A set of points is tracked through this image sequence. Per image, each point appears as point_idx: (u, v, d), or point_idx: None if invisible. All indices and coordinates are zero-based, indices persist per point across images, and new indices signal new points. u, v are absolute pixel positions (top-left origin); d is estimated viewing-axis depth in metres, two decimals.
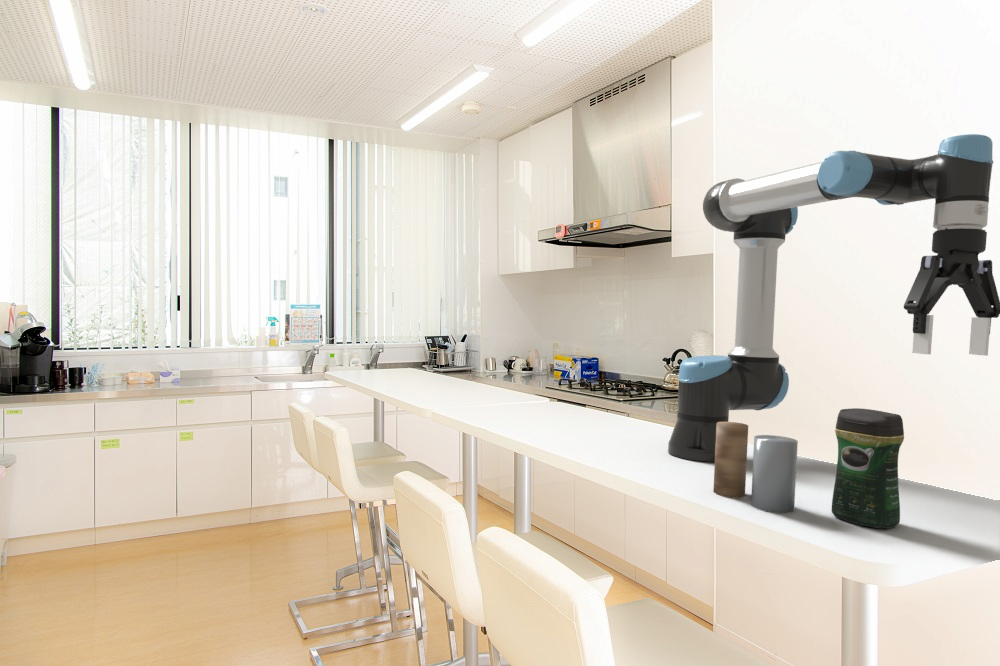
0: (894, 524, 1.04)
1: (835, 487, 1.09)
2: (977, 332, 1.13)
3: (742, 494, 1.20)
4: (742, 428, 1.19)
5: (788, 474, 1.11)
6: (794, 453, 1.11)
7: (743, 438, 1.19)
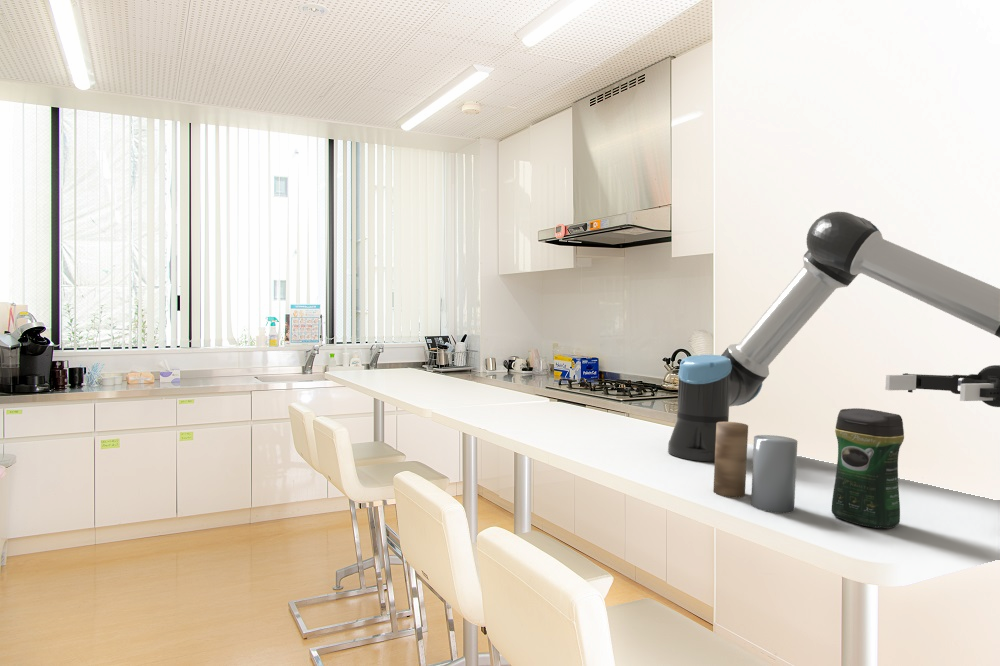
0: (894, 524, 1.04)
1: (835, 487, 1.09)
2: (905, 381, 1.18)
3: (742, 494, 1.20)
4: (742, 428, 1.19)
5: (788, 474, 1.11)
6: (794, 452, 1.11)
7: (743, 438, 1.19)
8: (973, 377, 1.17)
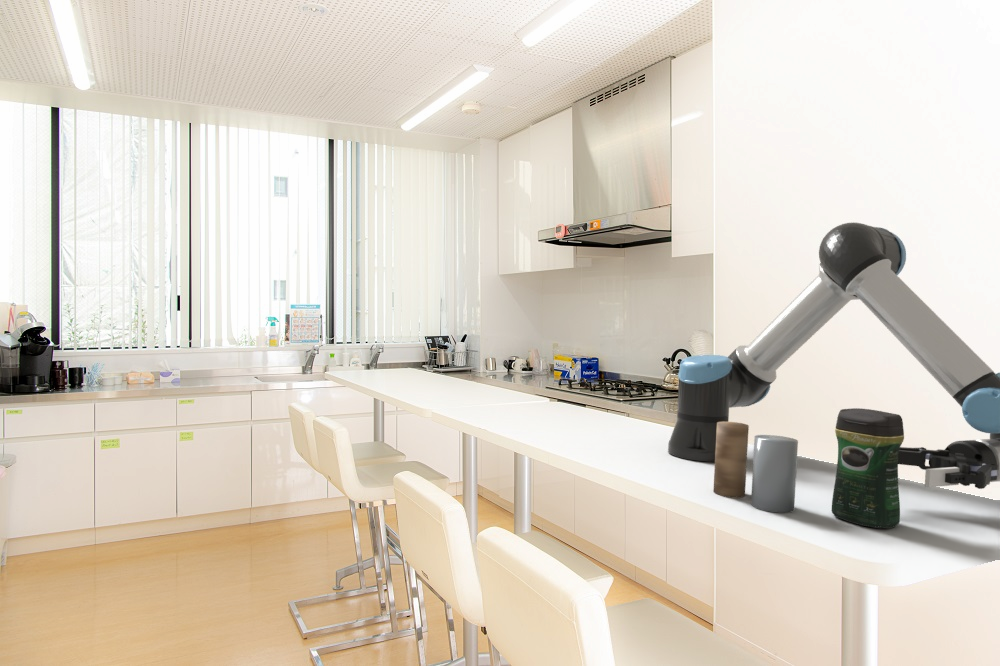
0: (894, 524, 1.04)
1: (835, 487, 1.09)
2: None
3: (742, 494, 1.20)
4: (742, 428, 1.19)
5: (788, 473, 1.11)
6: (795, 452, 1.11)
7: (744, 438, 1.19)
8: (941, 453, 1.14)
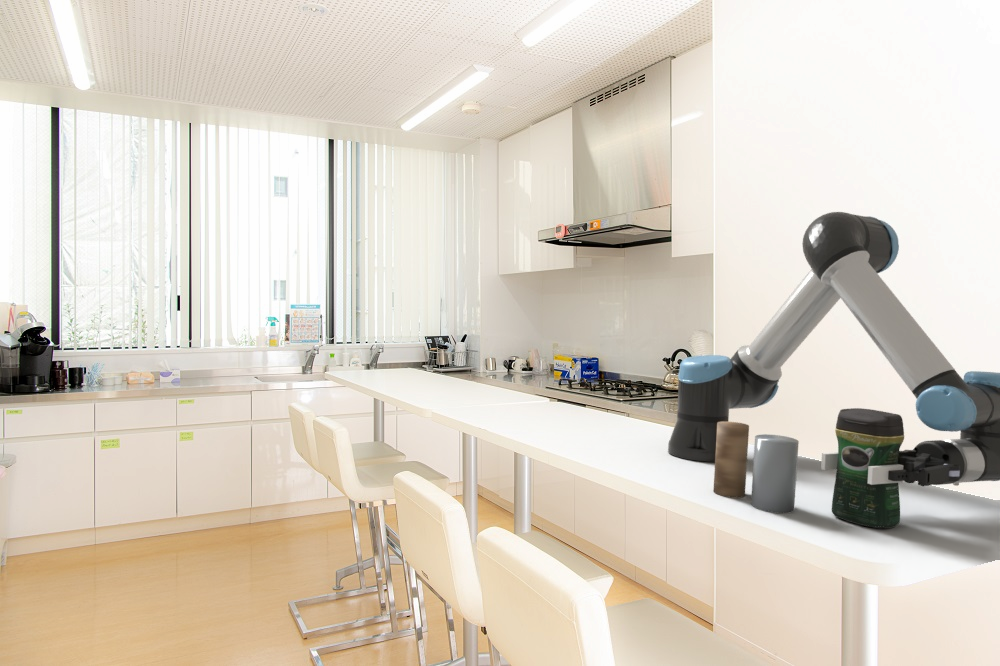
0: (894, 524, 1.04)
1: (835, 487, 1.09)
2: None
3: (742, 494, 1.20)
4: (743, 428, 1.19)
5: (789, 474, 1.11)
6: (795, 453, 1.11)
7: (744, 438, 1.19)
8: (909, 454, 1.12)
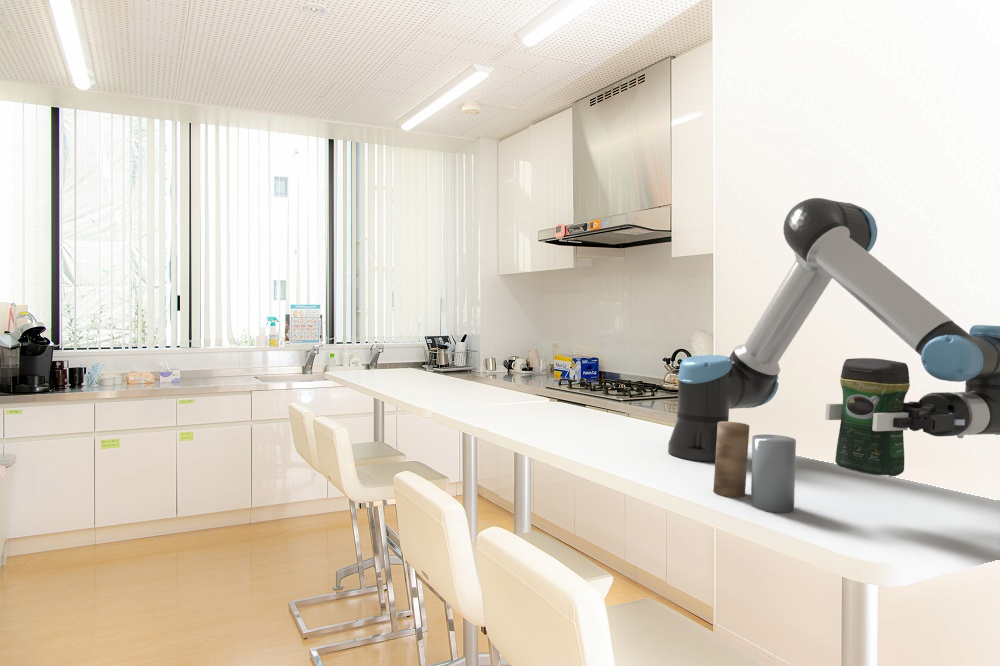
0: (898, 472, 1.03)
1: (839, 437, 1.09)
2: None
3: (742, 494, 1.20)
4: (743, 428, 1.19)
5: (788, 473, 1.11)
6: (793, 452, 1.11)
7: (744, 438, 1.19)
8: (914, 405, 1.12)
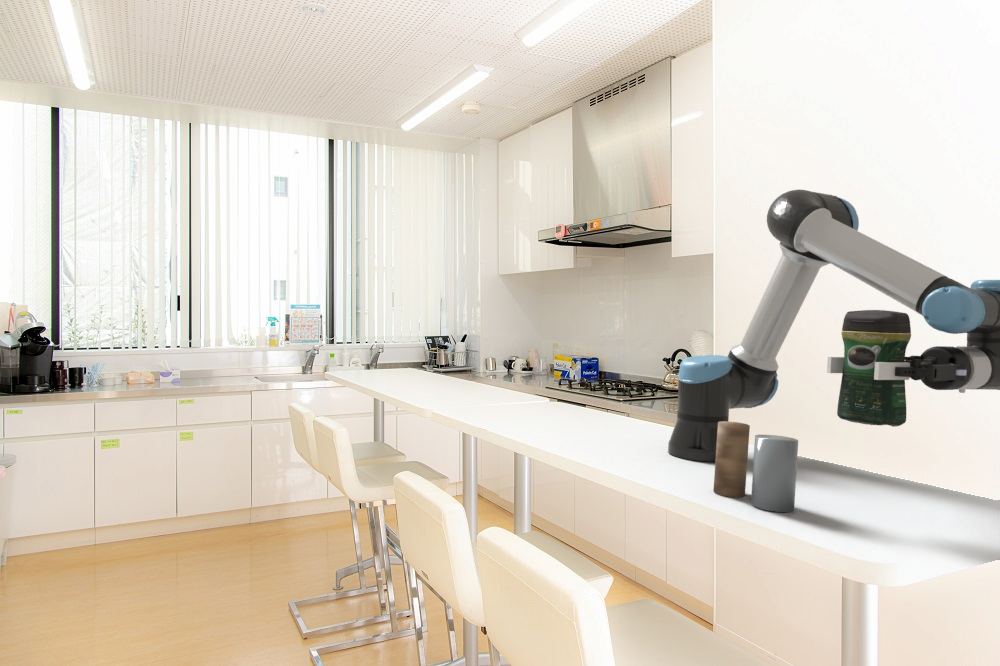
0: (900, 422, 1.03)
1: (841, 389, 1.08)
2: None
3: (742, 494, 1.20)
4: (744, 428, 1.19)
5: (790, 472, 1.11)
6: (796, 451, 1.12)
7: (745, 438, 1.19)
8: (915, 359, 1.11)
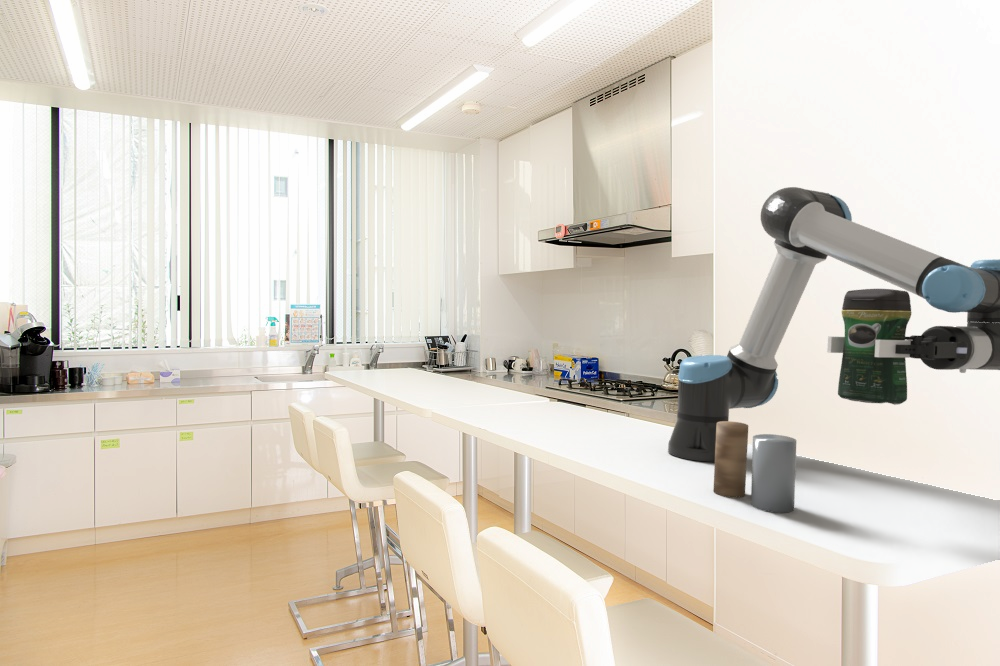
0: (901, 400, 1.03)
1: (842, 368, 1.08)
2: None
3: (742, 494, 1.20)
4: (743, 428, 1.19)
5: (790, 473, 1.11)
6: (794, 452, 1.11)
7: (744, 438, 1.19)
8: None
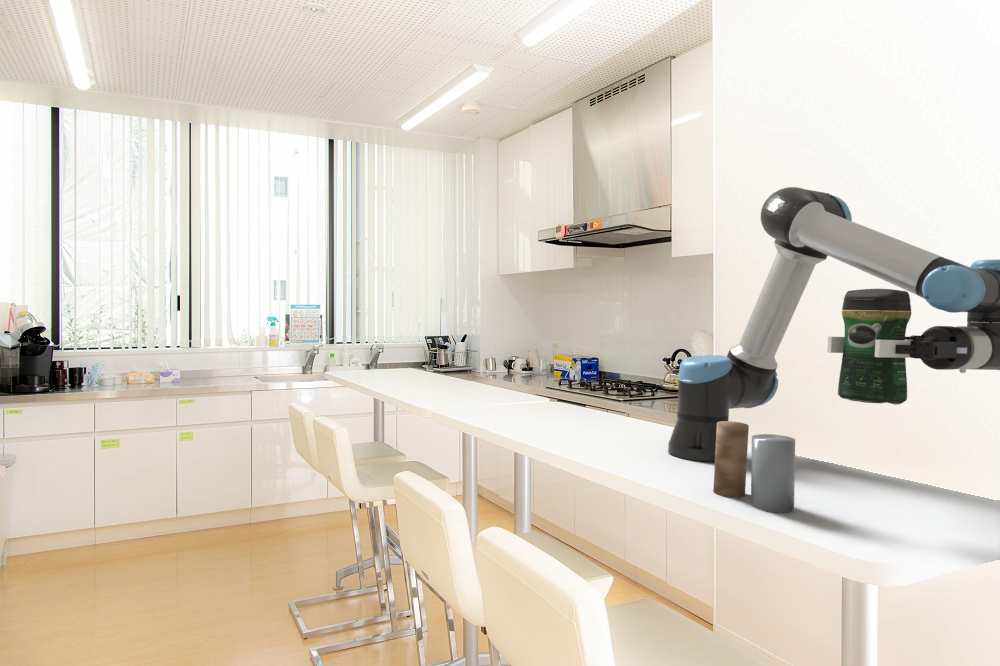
0: (901, 400, 1.03)
1: (842, 368, 1.08)
2: None
3: (743, 494, 1.20)
4: (743, 428, 1.19)
5: (790, 472, 1.11)
6: (794, 451, 1.11)
7: (744, 438, 1.19)
8: None
